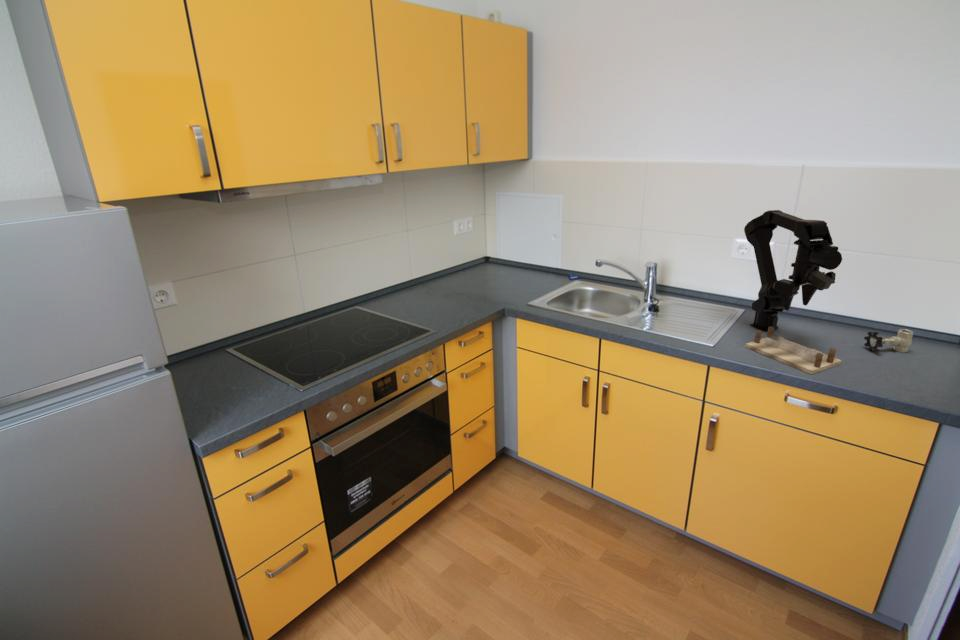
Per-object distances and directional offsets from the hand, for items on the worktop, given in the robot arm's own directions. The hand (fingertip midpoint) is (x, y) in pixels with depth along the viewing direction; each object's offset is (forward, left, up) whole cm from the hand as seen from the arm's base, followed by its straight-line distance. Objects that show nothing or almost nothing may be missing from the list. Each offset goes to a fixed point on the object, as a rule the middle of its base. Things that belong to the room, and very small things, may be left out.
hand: (795, 307), depth 163 cm
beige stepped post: (+7, -9, -11) cm, 16 cm away
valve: (+19, +20, -12) cm, 30 cm away
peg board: (+7, -9, -12) cm, 17 cm away
